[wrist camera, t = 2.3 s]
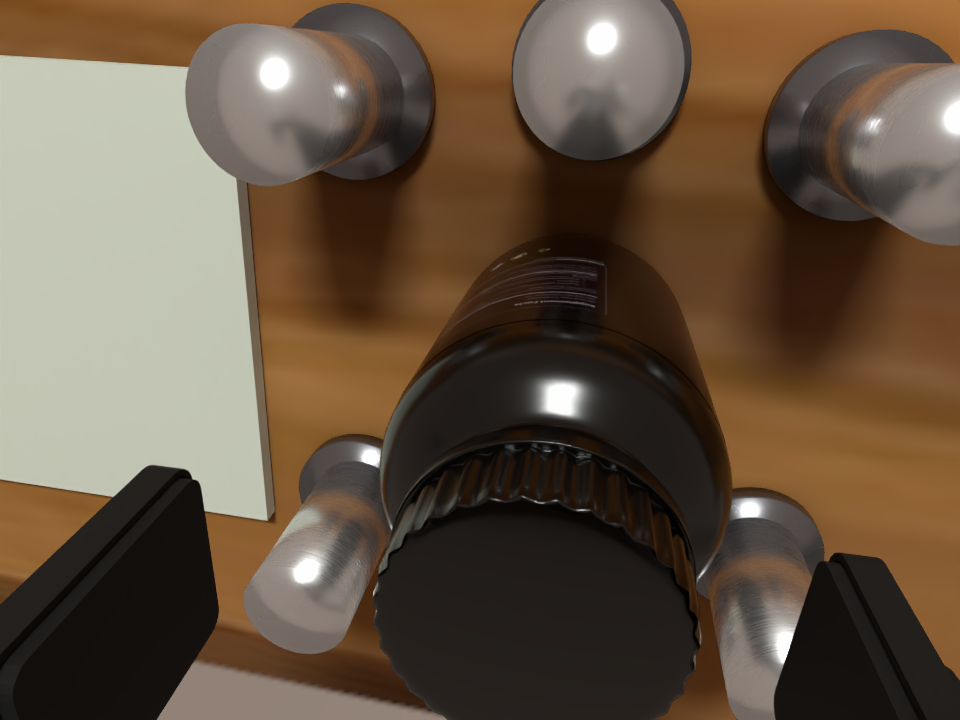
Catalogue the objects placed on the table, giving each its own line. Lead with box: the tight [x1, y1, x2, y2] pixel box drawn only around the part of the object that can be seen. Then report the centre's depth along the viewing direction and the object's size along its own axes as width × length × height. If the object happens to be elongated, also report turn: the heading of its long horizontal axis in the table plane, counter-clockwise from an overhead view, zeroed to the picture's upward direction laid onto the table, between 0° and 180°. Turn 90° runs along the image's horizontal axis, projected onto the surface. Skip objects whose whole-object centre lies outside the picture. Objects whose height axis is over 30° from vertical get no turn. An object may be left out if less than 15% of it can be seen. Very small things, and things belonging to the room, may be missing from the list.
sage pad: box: [0, 55, 275, 521], centre depth 23 cm, size 15×15×1 cm
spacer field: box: [185, 0, 960, 720], centre depth 18 cm, size 17×19×6 cm
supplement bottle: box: [373, 235, 732, 720], centre depth 15 cm, size 7×7×12 cm
